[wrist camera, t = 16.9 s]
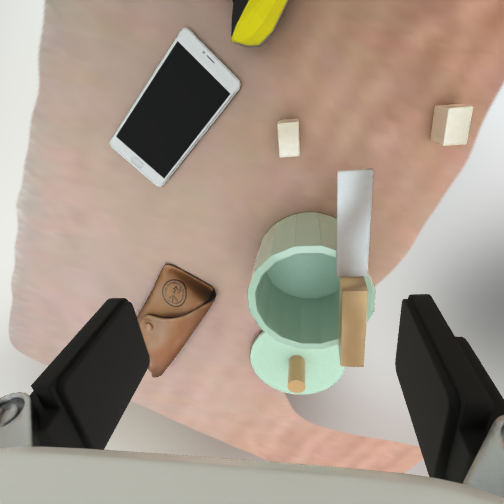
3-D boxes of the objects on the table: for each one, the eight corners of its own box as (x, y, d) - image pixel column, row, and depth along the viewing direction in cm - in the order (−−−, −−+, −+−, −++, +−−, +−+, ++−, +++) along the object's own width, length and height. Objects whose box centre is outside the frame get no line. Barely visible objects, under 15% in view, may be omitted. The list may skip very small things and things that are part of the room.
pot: (363, 209, 38) (379, 243, 30) (358, 301, 43) (371, 350, 35) (253, 214, 40) (241, 247, 32) (262, 301, 45) (254, 348, 38)
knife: (372, 168, 27) (379, 177, 24) (362, 347, 35) (366, 367, 33) (337, 170, 27) (340, 179, 25) (335, 346, 36) (337, 366, 33)
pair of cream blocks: (457, 103, 32) (473, 105, 29) (451, 138, 33) (466, 144, 30) (279, 119, 35) (277, 123, 32) (281, 151, 36) (279, 157, 33)
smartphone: (106, 144, 38) (183, 23, 31) (109, 143, 38) (185, 25, 32) (159, 189, 39) (242, 84, 33) (161, 188, 40) (244, 84, 33)
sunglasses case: (162, 260, 44) (169, 298, 39) (208, 269, 48) (220, 304, 43) (118, 343, 52) (120, 382, 48) (161, 345, 56) (167, 381, 52)
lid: (346, 318, 45) (351, 348, 40) (343, 389, 51) (348, 423, 46) (246, 318, 47) (240, 346, 42) (255, 386, 53) (250, 418, 48)
